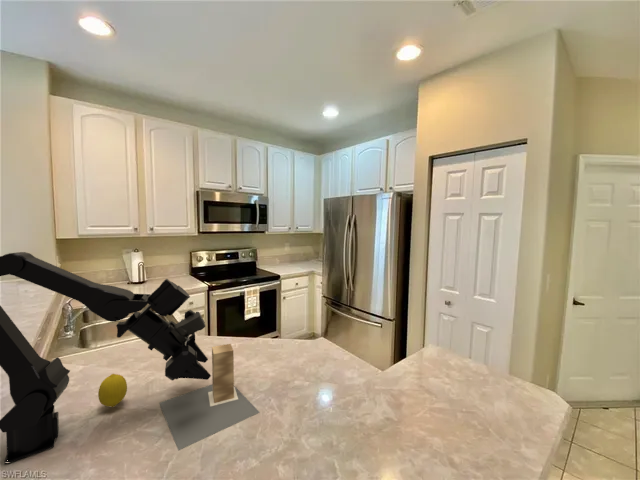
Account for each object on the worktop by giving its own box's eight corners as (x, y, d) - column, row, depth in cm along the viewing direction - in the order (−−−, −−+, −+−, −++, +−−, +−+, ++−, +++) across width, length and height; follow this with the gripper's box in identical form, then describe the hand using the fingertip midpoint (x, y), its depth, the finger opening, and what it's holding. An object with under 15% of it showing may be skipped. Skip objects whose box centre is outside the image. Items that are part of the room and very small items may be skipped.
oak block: (214, 403, 66) (213, 354, 66) (212, 393, 71) (211, 347, 70) (234, 398, 68) (233, 350, 68) (231, 388, 73) (230, 343, 72)
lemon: (93, 410, 65) (93, 376, 65) (120, 397, 70) (119, 366, 70) (106, 417, 62) (105, 382, 62) (132, 403, 67) (131, 371, 67)
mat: (178, 453, 52) (178, 450, 52) (159, 405, 67) (159, 402, 67) (259, 414, 63) (259, 412, 63) (227, 380, 78) (227, 378, 78)
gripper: (182, 314, 57) (238, 356, 62) (183, 295, 73) (226, 330, 79) (137, 359, 53) (200, 400, 58) (149, 329, 70) (196, 363, 75)
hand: (207, 368), depth 68 cm, fingers open, 9 cm apart
